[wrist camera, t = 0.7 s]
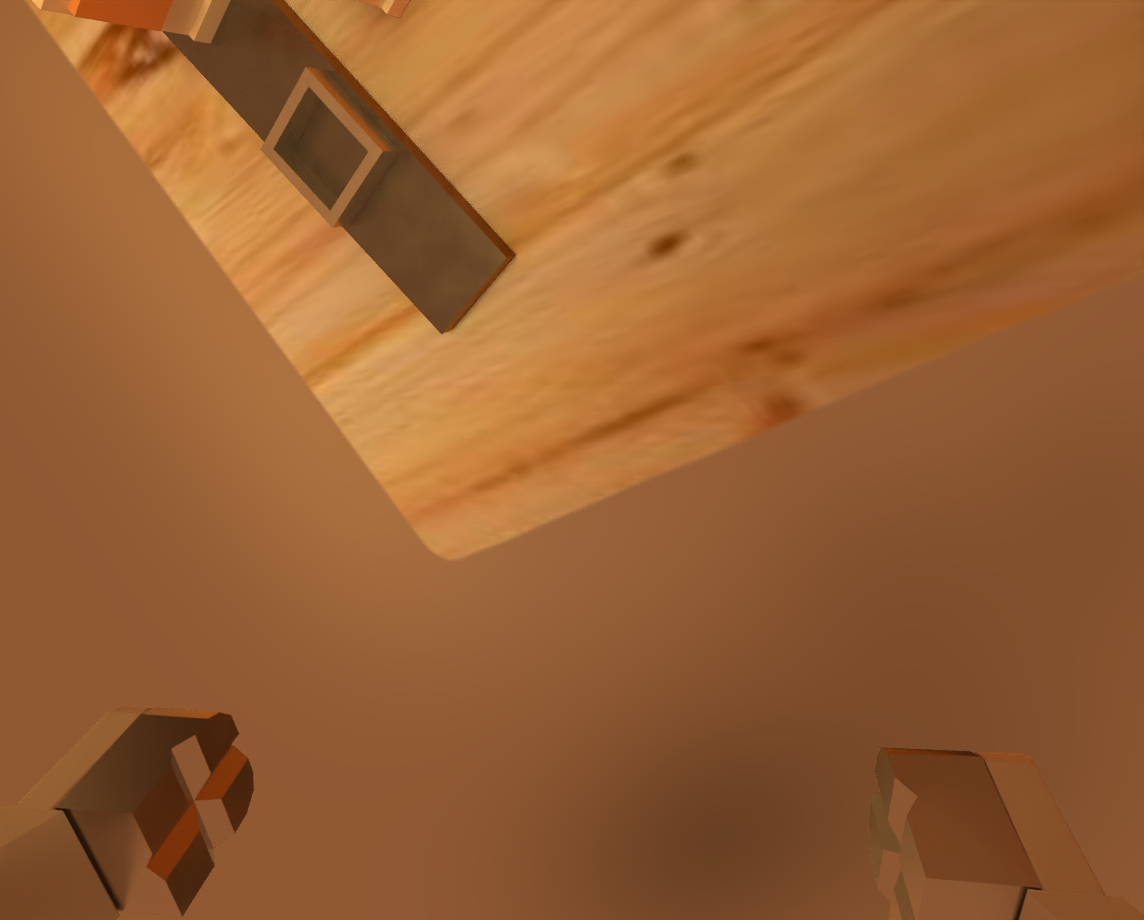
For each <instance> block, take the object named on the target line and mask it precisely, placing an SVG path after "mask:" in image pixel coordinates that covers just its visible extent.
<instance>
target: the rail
mask: <svg viewBox="0 0 1144 920" xmlns="http://www.w3.org/2000/svg"><path fill="white" fill-rule="evenodd" d="M163 32H164V33H165V35H166V36H167V37H168V38H169V39H170V40H171V41H172V42H173V43H174V44H175V45H176V46H177V48H178V49H179V50H180V51H181V52H182V53H183V54H184V55H185V56H186V57H187V58H188V59H189V61H190V62H191V63H192V64H193V65H194V66H195V67H196V68H197V69H198V70H199V71H200V73H201V74H202V75H203V76H204V77H205V78H206V79H207V80H208V81H209V82H210V83H211V84H212V86H213V87H214V88H215V89H216V90H217V91H218V92H219V93H220V94H221V95H222V96H223V97H224V99H225V100H226V101H227V102H228V103H229V104H230V105H231V106H232V107H233V108H234V109H235V110H236V112H237V113H238V114H239V115H240V116H241V117H242V118H243V119H244V120H245V121H246V122H247V124H248V125H249V126H250V127H251V128H252V129H253V130H254V131H255V132H256V133H257V134H258V135H259V137H260V138H261V139H262V140H263V141H264V144H263V146H262V148H261V150H262V152H263V153H264V154H265V155H266V156H267V157H268V158H269V159H270V160H271V161H272V162H273V163H274V165H275V166H276V167H277V168H278V169H279V170H280V171H281V172H282V173H283V174H284V175H285V176H286V178H287V179H288V180H289V181H290V182H291V183H292V184H293V185H294V186H295V187H296V188H297V190H298V191H299V192H300V193H301V194H302V195H303V196H304V197H305V198H306V199H307V200H308V201H309V203H310V204H311V205H312V206H313V207H314V208H315V209H316V210H317V211H318V212H319V213H320V214H321V216H322V217H323V218H324V219H325V220H326V221H327V222H328V223H329V224H330V225H331V226H332V227H333V228H334V227H341V226H342V227H343V228H344V229H345V230H346V231H347V232H348V233H349V234H350V235H351V236H352V237H353V239H354V240H355V241H356V242H357V243H358V244H359V245H360V246H361V247H362V248H363V249H364V250H365V252H366V253H367V254H368V255H369V256H370V257H371V258H372V259H373V260H374V261H375V262H376V264H377V265H378V266H379V267H380V268H381V269H382V270H383V271H384V272H385V273H386V274H387V275H388V277H389V278H390V279H391V280H392V281H393V282H394V283H395V284H396V285H397V286H398V287H399V288H400V290H401V291H402V292H403V293H404V294H405V295H406V296H407V297H408V298H409V299H410V300H411V302H412V303H413V304H414V305H415V306H416V307H417V308H418V309H419V310H420V311H421V312H422V313H423V315H424V316H425V317H426V318H427V319H428V320H429V321H430V322H431V323H432V324H433V325H434V326H435V328H436V329H437V330H438V331H439V332H440V333H441V334H443V333H446V332H448V331H450V330H452V329H453V328H454V327H455V325H456V324H457V323H458V322H459V321H460V320H461V318H462V317H463V316H464V315H465V314H466V312H467V311H468V310H469V309H470V308H471V307H472V305H473V304H474V303H475V302H476V301H477V300H478V298H479V297H480V296H481V295H482V294H483V293H484V291H485V290H486V289H487V288H488V287H489V286H490V284H491V283H492V282H493V281H494V280H495V278H496V277H497V276H498V275H499V274H500V273H501V271H502V270H503V269H504V268H505V267H506V266H507V264H508V263H509V262H510V261H511V260H512V259H513V257H514V256H515V254H514V253H513V252H512V250H511V249H510V248H509V247H508V246H507V245H506V244H505V243H504V242H503V241H502V239H501V238H500V237H499V236H498V235H497V234H496V233H495V232H494V231H493V230H492V229H491V227H490V226H489V225H488V224H487V223H486V222H485V221H484V220H483V219H482V218H481V216H480V215H479V214H478V213H477V212H476V211H475V210H474V209H473V208H472V207H471V205H470V204H469V203H468V202H467V201H466V200H465V199H464V198H463V197H462V196H461V194H460V193H459V192H458V191H457V190H456V189H455V188H454V187H453V186H452V185H451V184H450V182H449V181H448V180H447V179H446V178H445V177H444V176H443V175H442V174H441V173H440V171H439V170H438V169H437V168H436V167H435V166H434V165H433V164H432V163H431V162H430V160H429V159H428V158H427V157H426V156H425V155H424V154H423V153H422V152H421V151H420V150H419V148H418V147H417V146H416V145H415V144H414V143H413V142H412V141H411V140H410V139H409V137H408V136H407V135H406V134H405V133H404V132H403V131H402V130H401V129H400V128H399V126H398V125H397V124H396V123H395V122H394V121H393V120H392V119H391V118H390V117H389V116H388V114H387V113H386V112H385V111H384V110H383V109H382V108H381V107H380V106H379V105H378V103H377V102H376V101H375V100H374V99H373V98H372V97H371V96H370V95H369V94H368V92H367V91H366V90H365V89H364V88H363V87H362V86H361V85H360V84H359V83H358V82H357V80H356V79H355V78H354V77H353V76H352V75H351V74H350V73H349V72H348V71H347V69H346V68H345V67H344V66H343V65H342V64H341V63H340V62H339V61H338V60H337V58H336V57H335V56H334V55H333V54H332V53H331V52H330V51H329V50H328V49H327V47H326V46H325V45H324V44H323V43H322V42H321V41H320V40H319V39H318V38H317V37H316V35H315V34H314V33H313V32H312V31H311V30H310V29H309V28H308V27H307V26H306V24H305V23H304V22H303V21H302V20H301V19H300V18H299V17H298V16H297V15H296V13H295V12H294V11H293V10H292V9H291V8H290V7H289V6H288V5H287V4H286V3H285V1H284V0H230V2H229V5H228V7H227V9H226V11H225V13H224V15H223V18H222V20H221V22H220V24H219V26H218V28H217V31H216V33H215V35H214V37H213V39H212V41H211V44H210V43H204V42H198V41H193V39H192V38H191V37H190V36H189V35H184V34H178V33H172V32H167V31H163Z"/></svg>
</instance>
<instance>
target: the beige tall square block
mask: <svg viewBox="0 0 1144 920" xmlns="http://www.w3.org/2000/svg"><path fill="white" fill-rule="evenodd" d="M356 1H359V2H363V3H366V4H369V5H373V6H376V7H379V8H382V9H383V11H384V12H385V13H386V14H388V15H392V16H395V17H399V18H400V16H401V15H402V13H403V11H404V10H405V8H406V6H407V5H408V3H409V1H410V0H356Z"/></svg>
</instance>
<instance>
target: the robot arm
mask: <svg viewBox="0 0 1144 920" xmlns="http://www.w3.org/2000/svg"><path fill="white" fill-rule="evenodd" d="M238 735H239V732H238V730H237V727H236V725H235V723H234V720H233V718H232V716H231V715H229V714H225V713H220V712H209V711H198V710H186V709H174V708H161V707H142V706H129V705H121V706H119V707H116V708H114V709H112V710H110V711H107V712H106V713H105V714H104V715H103V717H102V718H101V719H100V720H99V721H98V722H97V723H96V724H95V725H94V726H93V727H92V728H91V729H90V730H89V731H88V732H87V733H86V734H85V735H84V736H83V737H82V738H81V739H80V740H79V741H78V742H77V743H76V744H75V745H74V746H73V747H72V748H71V749H70V750H69V751H68V752H67V753H66V754H65V756H64V757H63V758H62V759H61V760H60V761H59V762H58V763H57V764H56V765H55V766H54V767H53V768H52V769H51V770H50V771H49V772H48V773H47V774H46V775H45V776H44V777H43V778H42V779H41V780H40V781H39V782H38V783H37V784H36V785H35V786H34V787H33V788H32V789H31V790H30V791H29V793H27V795H25V797H24V798H23V799H22V800H21V801H20V802H19V803H18V804H17V805H16V806H3V807H1V808H0V920H116V919H117V918H119V913H118V912H121V913H136V914H149V915H163V916H177V917H183V915H184V914H185V912H186V911H187V909H188V907H189V906H190V904H191V903H192V901H193V899H194V898H195V896H196V895H197V893H198V892H199V890H200V888H201V887H202V885H203V884H204V882H205V880H206V879H207V877H208V876H209V874H210V873H211V871H212V869H213V868H214V866H215V863H214V848H216V847H217V846H218V845H220V844H221V843H223V842H224V841H225V840H227V839H228V838H229V837H231V836H232V835H234V834H235V833H236V831H237V829H238V828H239V826H240V824H241V823H242V821H243V819H244V818H245V816H246V814H247V812H248V808H249V805H250V801H251V798H252V794H253V791H254V781H253V770H252V767H251V765H250V762H249V759H248V758H247V757H246V756H245V755H244V754H243V753H242V752H241V751H239V750H238V749H237V748H236V747H235V746H234V743H235V741H236V738H237V737H238ZM874 772H875V775H876V779H877V783H878V787H879V790H880V792H879V793H877V794H876V795H875V796H874V797H873V798H871V800H870V810H869V820H868V821H869V846H870V852H871V858H872V865H873V869H874V874H875V878H876V883H877V887H878V889H879V890H880V891H881V892H882V893H883V894H884V895H885V896H886V897H887V898H888V899H889V900H890V902H891V908H890V915H889V920H1144V914H1143V913H1141V912H1140V911H1139V910H1138V909H1136V908H1135V907H1134V906H1133V905H1131V904H1130V903H1129V902H1128V901H1127V900H1125V899H1124V898H1122V897H1113V896H1106V895H1105V893H1104V891H1103V889H1102V887H1101V886H1100V884H1099V882H1098V880H1097V878H1096V876H1095V874H1094V872H1093V871H1092V869H1091V867H1090V865H1089V863H1088V861H1087V859H1086V857H1085V856H1084V854H1083V852H1082V850H1081V848H1080V846H1079V845H1078V843H1077V841H1076V839H1075V837H1074V835H1073V833H1072V831H1071V829H1070V828H1069V826H1068V824H1067V822H1066V820H1065V818H1064V816H1063V815H1062V813H1061V811H1060V809H1059V807H1058V805H1057V804H1056V802H1055V800H1054V798H1053V796H1052V794H1051V792H1050V790H1049V789H1048V787H1047V785H1046V783H1045V781H1044V779H1043V777H1042V776H1041V774H1040V772H1039V770H1038V768H1037V766H1036V764H1035V762H1034V761H1033V760H1032V759H1030V758H1029V757H1028V756H1027V755H1026V754H1017V753H996V752H975V753H973V752H971V751H956V750H933V749H910V748H886V747H881V748H880V750H879V752H878V754H877V758H876V765H875V771H874Z"/></svg>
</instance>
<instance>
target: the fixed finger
mask: <svg viewBox="0 0 1144 920" xmlns="http://www.w3.org/2000/svg"><path fill="white" fill-rule="evenodd" d="M32 1H33V2H34V3H35V4H36V5H37V6H38V7H39V8H40V9H41V10H46V11H51V12H57V13H63V14H69V15H74V16H75V17H81V18H86V19H92V20H98V21H104V22H110V23H115V24H121V25H127V26H133V27H139V28H144V29H150V30H156V31H167V32H172V33H178V34H184V35H189V36H190V37H191V38H192V39H193V41H198V42H204V43H210V44H211V41H212V39H213V37H214V35H215V33H216V31H217V28H218V26H219V24H220V22H221V20H222V18H223V15H224V13H225V11H226V9H227V7H228V5H229V2H230V0H32Z"/></svg>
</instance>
